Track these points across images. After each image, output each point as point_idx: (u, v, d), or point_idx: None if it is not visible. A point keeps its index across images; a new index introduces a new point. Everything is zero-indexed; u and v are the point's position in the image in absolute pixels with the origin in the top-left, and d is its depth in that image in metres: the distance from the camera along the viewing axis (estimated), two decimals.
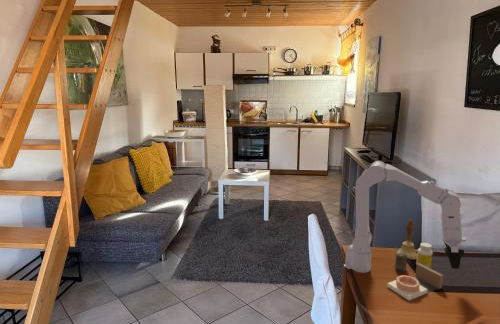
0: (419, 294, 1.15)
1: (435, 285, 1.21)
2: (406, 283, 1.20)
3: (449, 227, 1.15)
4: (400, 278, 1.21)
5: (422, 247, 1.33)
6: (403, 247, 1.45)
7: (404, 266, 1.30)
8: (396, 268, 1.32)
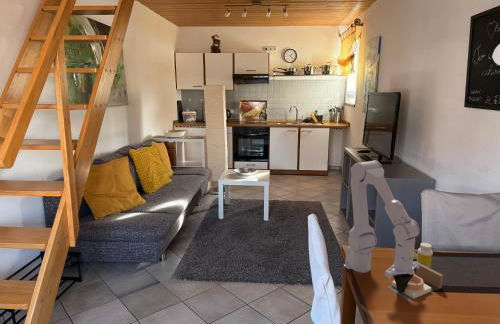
0: (423, 292, 1.16)
1: (435, 285, 1.21)
2: (410, 281, 1.21)
3: (396, 254, 1.14)
4: None
5: (422, 247, 1.33)
6: None
7: None
8: None
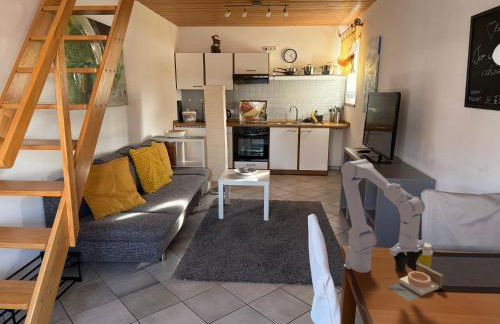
0: (431, 289, 1.18)
1: None
2: (417, 279, 1.23)
3: (401, 232, 1.13)
4: (412, 274, 1.23)
5: (422, 247, 1.33)
6: None
7: None
8: (396, 268, 1.32)
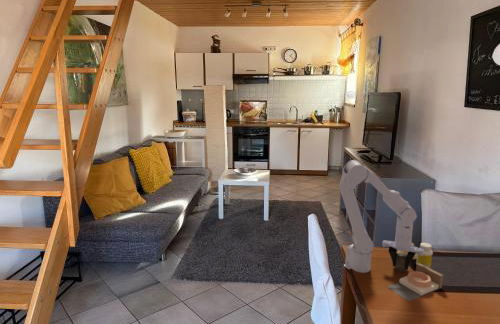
0: (431, 289, 1.18)
1: None
2: (417, 279, 1.23)
3: (404, 236, 1.27)
4: (412, 274, 1.23)
5: (422, 247, 1.33)
6: None
7: (404, 266, 1.30)
8: (396, 268, 1.32)
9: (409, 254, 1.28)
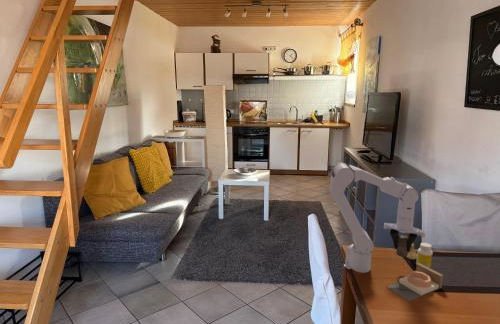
0: (431, 289, 1.18)
1: None
2: (417, 279, 1.23)
3: (406, 217, 1.25)
4: (412, 274, 1.23)
5: (422, 247, 1.33)
6: None
7: (406, 248, 1.29)
8: (398, 250, 1.30)
9: (411, 236, 1.26)
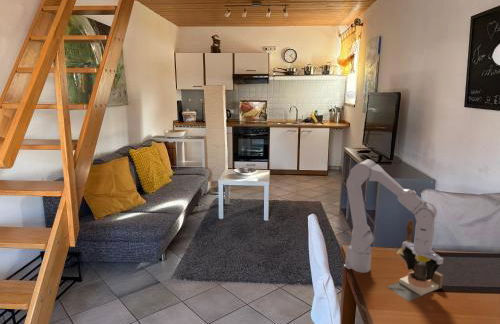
0: (431, 289, 1.18)
1: None
2: None
3: (419, 239, 1.16)
4: (411, 274, 1.23)
5: None
6: None
7: (421, 276, 1.19)
8: (413, 276, 1.21)
9: (429, 262, 1.14)
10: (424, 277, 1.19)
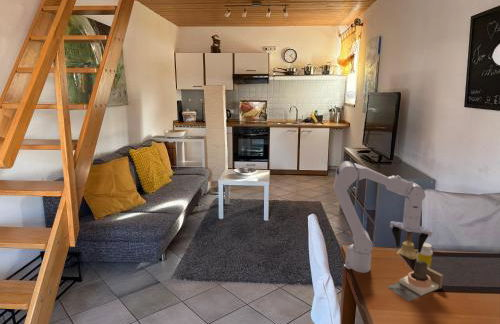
0: (431, 289, 1.18)
1: None
2: None
3: (412, 216, 1.24)
4: (411, 274, 1.23)
5: (422, 247, 1.33)
6: (403, 247, 1.45)
7: (421, 276, 1.19)
8: (413, 276, 1.21)
9: (422, 236, 1.24)
10: (424, 277, 1.19)
